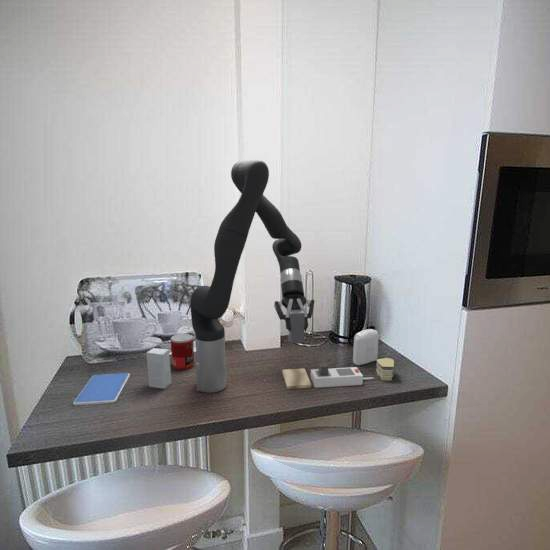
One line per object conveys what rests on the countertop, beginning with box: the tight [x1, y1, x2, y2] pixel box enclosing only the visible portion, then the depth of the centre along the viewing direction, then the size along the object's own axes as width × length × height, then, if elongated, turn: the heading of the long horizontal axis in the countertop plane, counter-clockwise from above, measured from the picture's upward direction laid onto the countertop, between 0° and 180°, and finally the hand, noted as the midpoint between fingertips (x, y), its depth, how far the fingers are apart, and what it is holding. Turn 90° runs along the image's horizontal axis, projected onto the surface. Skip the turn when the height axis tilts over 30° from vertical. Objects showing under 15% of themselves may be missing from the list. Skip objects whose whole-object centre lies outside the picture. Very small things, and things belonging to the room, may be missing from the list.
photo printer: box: [352, 328, 380, 366], centre depth 146 cm, size 10×4×12 cm, turn 123°
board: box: [281, 368, 313, 390], centre depth 133 cm, size 8×12×1 cm, turn 7°
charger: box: [288, 310, 306, 344], centre depth 129 cm, size 4×4×10 cm
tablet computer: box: [72, 372, 131, 406], centre depth 128 cm, size 19×13×1 cm, turn 7°
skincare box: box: [146, 347, 172, 390], centre depth 128 cm, size 6×4×12 cm
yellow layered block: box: [375, 357, 395, 382], centre depth 135 cm, size 10×9×6 cm
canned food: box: [170, 333, 195, 371], centre depth 143 cm, size 8×8×11 cm
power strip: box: [310, 362, 375, 389], centre depth 131 cm, size 21×6×6 cm, turn 97°
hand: (297, 329), depth 127 cm, fingers closed on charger, 4 cm apart
